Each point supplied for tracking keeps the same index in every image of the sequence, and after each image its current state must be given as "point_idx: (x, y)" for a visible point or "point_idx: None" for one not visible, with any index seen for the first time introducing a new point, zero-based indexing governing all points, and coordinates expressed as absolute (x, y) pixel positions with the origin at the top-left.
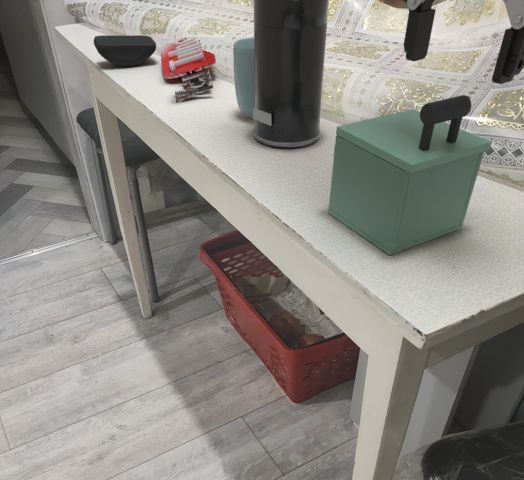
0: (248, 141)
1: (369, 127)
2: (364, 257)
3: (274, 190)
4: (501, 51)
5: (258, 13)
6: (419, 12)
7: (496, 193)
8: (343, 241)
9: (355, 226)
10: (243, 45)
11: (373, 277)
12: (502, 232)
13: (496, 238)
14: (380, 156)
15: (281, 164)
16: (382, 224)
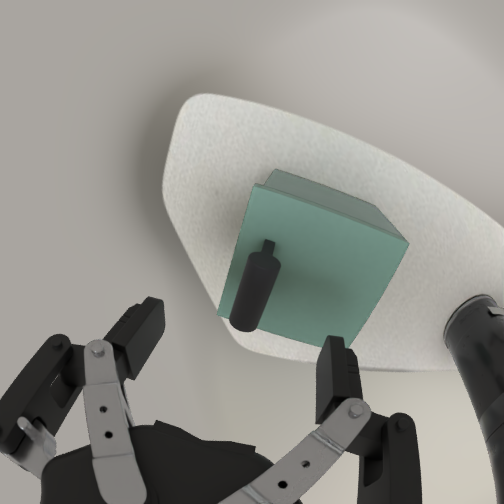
0: (496, 292)
1: (369, 268)
2: (293, 149)
3: (444, 216)
4: (138, 324)
5: None
6: (334, 396)
7: (253, 338)
8: (329, 162)
9: (331, 189)
10: None
11: (265, 123)
12: (215, 278)
13: (213, 265)
14: (315, 203)
15: (459, 271)
16: (291, 178)
